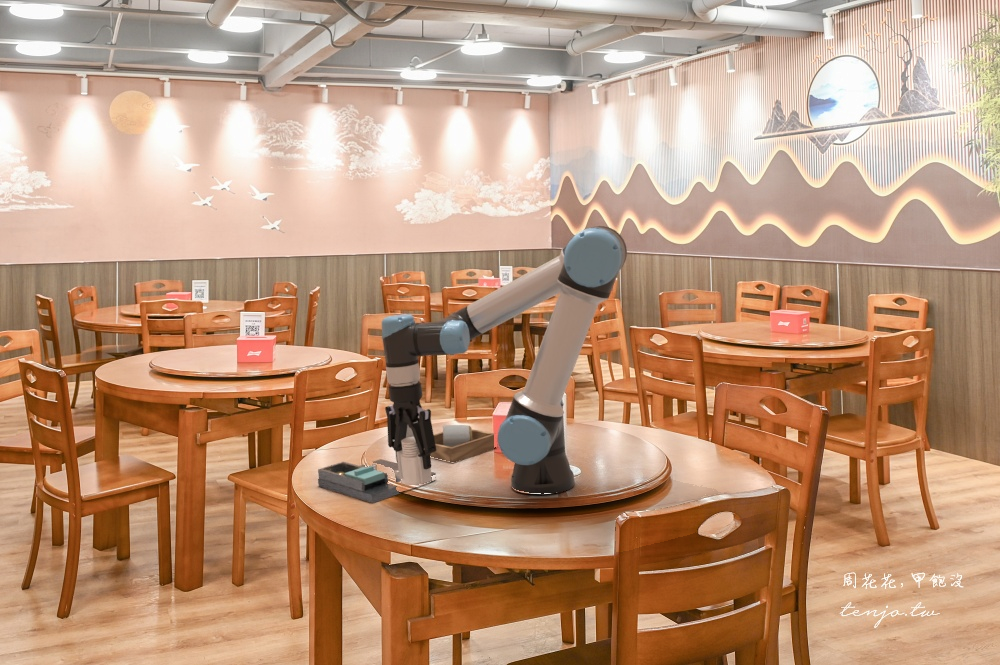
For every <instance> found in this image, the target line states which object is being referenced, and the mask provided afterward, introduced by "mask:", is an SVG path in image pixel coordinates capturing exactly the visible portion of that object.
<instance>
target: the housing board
mask: <svg viewBox="0 0 1000 665" xmlns="http://www.w3.org/2000/svg"><path fill="white" fill-rule="evenodd" d="M372 462H373V463H377V464H381V465H384V466H385V467H390V468H392V469H393V470H394V473H395V478H396V482H400V481H401V479H400V478H399V470H398V463H397V462H394V461H389V460H386V459H377V460H373V461H372ZM372 466H373V468H374V470H377V465H376V464H372ZM363 467H365V465H364V464H362V465H361V464H360V465H358V464H354V463H351V462H346V461H341V462H338V463H335V464H331V465H328V466H325V467H321V468H318V469H317V471H318V478H317V481H318V482H317V484H318V487H319V488H322V489H325V490H328V491H331V492H335V493H338V494H341V495H344V496H347V497H351V498H354V499H358V500H360V501H364V502H367V503H371V504H375V503H378V502H380V501H383V500H386V499H389V498H392V497H394V496H397V495H399V494H401V493H399V491H397V490H396V487H397V486H393V485H390V484H387V482H388V475H387V473H384V475H385V478H384V479H381V480H378V481H375V482H372V483H369V484H366V485H365V484H364V481H362V480H359V479H355V478H352V477H348V476H345V474H344V473H347V472H350V471H353V470H356V469H359V468H363ZM392 472H393V471H392ZM433 475H436V476H437V473H436V472H434V471H431V476H433Z"/></svg>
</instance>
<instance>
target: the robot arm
mask: <svg viewBox="0 0 1000 665" xmlns="http://www.w3.org/2000/svg"><path fill="white" fill-rule="evenodd" d="M627 253H628V248H627V245H626V242H625V239H624V238H623V236H622V235H621V234H620V233H619V232H618V231H617V230H615V229H613V228H612V227H609V226H604V225H601V226H600V225H599V226H593V227H589V228H585V229H583V230H581V231H579V232H577V233H576V234H575V235H574V236H572V237H571V239H570V241H569V242H568V244H566V246H565V247H563V248H562V249H561V250H560V254H559V255H558V256H556V257H554V258H553V259H550V260H549V261H547V262H545V263H544V264H541V265H539V266H537V267H536V268H534V269H533V270H530V271H529V272H526V273H525V274H523V275H521V276H519V277H517V278H516V279H514V280H512V281H510V282H508V283H505V285H502V286H501V287H499V288H497V289H496V290H494V291H492V292H490V293H489V294H487V295H485V296H483V297H481V298H479V299H477V300H475V301H473V302H472V303H470V304H468V305H466V306H464V307H463V308H461V309H459V310H457V311H454V312H452V313H451V314H449V315H448V316H446V317H444V318H441V319H440V320H438V321H431V322H429V321H427V322H416V320H415V317H414V315H412V314H410V313H409V314H408V313H407V314H394V315H388V316H385V317H384V318H383V319H382V320H381V339H382V345H383V353H384V360H385V372H386V381H387V382H386V383H387V384H389V386H388V397H389V400H390V402H392V403H393V404H391V405H387V406H385V408H384V409H385V413H386V421H387V422H386V423H387V424H386V425H387V445H388V448H392V449H393V450H394V452H395V459H396V463H398V470H399V478H400V479H403V472H402V464H401V457H400V455H401V454H402V453H403V450H402V443H401V440H403V439H405V438H406V433H407V426H409V428H411V429H412V432H413V435H414V438H415V441H416V444H417V446H418V449H419V452H420V454H419V455H418V462H419V471H420V480H421V484H424V483H427V482H430V481H432V477H431V472H432V462H431V461H432V458H430V454H431V453H433V452H435V451H436V445H435V439H434V435H435V433H434V431H433V424H432V409H430V408H428V409H424V408H423V407H422V405H421V398H422V397H423V389H422V383H421V382H420V379H421V370H420V364H419V362H420V361H419V360H420V359H419V357H425V356H445V355H446V356H447V355H450V356H455V355H460V354H465V353H466V352H467V351H468V350H469V346H470V341H471V340H473V339H475V338H477V337H479V336H481V335H482V334H484V333H486V332H488V331H490V330H491V329H493V328H496V327H497V326H499V325H501V324H503V323H505V322H507V321H509V320H511V319H512V318H515V317H517V316H518V315H520V314H522V313H524V312H526V311H528V310H530V309H532V308H533V307H535V306H538V305H539V304H541V303H543V302H546V301H547V300H548V299H550V298H552V297H555V296H557V295H558V294H559V295H558V297H557V300H556V303H555V305H554V308H553V311H552V313H551V317H550V319H549V321H548V324H547V327H546V330H545V332H544V335H543V338H542V339H541V343H540V346H539V348H538V351H537V353H536V356H535V359H534V360H533V361H534V362H533V365H532V367H531V369H530V372H529V375H528V378H527V380H526V383H525V386H524V387H523V390H520V391H518V392H516V393H514V394H513V397H512V401H511V403H510V406H509V409H508V412H507V414H506V417H505V419H504V420H503V421H502V423H500V425H499V428H498V433H497V446H498V447H499V449H500V451H501V453H502V454H503V456H504V457H505V458H506V459H507V460H509V461H510V462H512V463H514V465H513V471H512V474H511V476H510V483H511V486H512V487H513V488H514V489H516V490H519V491H524V492H529V493H541V494H544V493H556V492H561V493H563V492H562V491H564V492H566V490H567V491H569V490H571V489H572V488H573V487H574V486H575V475H574V471H573V470H572V468H571V466H570V462H569V459H568V457H567V453H566V441H565V423H564V422H565V420H564V413H565V412H564V402H563V398H564V395H565V392H566V389H567V388H568V384H569V383H570V382H569V381H570V379H571V377H572V374H573V371H574V369H575V366H576V364H577V361H578V359H579V356H580V354H581V351H582V348H583V346H584V344H585V340H586V338H587V336H588V332H589V330H590V327H591V325H592V322H593V319H594V317H595V314H596V313H597V310H598V308H599V307H598V306H599V305H600V304H601V303H603V302H605V301H607V300H609V297H610V295H611V293H612V290H613V288H614V285H615V284H616V280H617V277H618V276H619V273H620V271H621V270H622V268H623V267H624V265H625V263H626V260H627V256H628V255H627ZM417 421H418V422H417ZM415 422H417V423H415ZM511 486H510V487H511ZM512 487H511V488H512Z"/></svg>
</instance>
